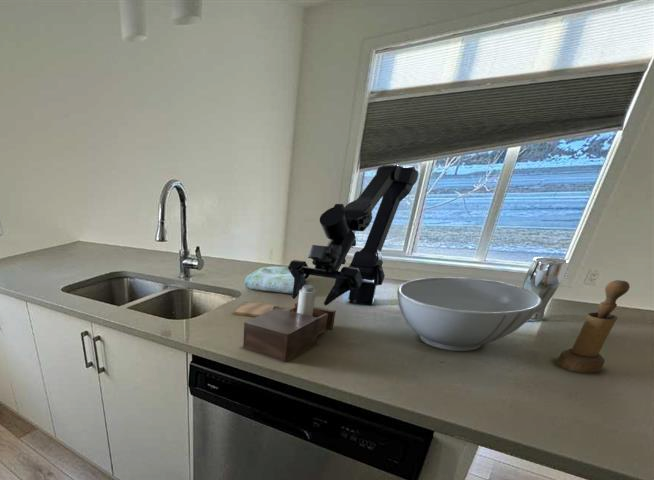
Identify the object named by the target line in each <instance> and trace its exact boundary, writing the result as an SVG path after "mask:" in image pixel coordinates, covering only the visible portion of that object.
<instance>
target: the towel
mask: <svg viewBox="0 0 654 480" xmlns="http://www.w3.org/2000/svg"><path fill="white" fill-rule="evenodd" d="M305 280H306V281H307V280H308V278H307V279H305ZM293 286H294V277H293V276H292V274H291V272H290V271H289V269H288V266H279V265H278V266H263V267H259V268H258V269H257V270H255V271H252V272H251V273H250V274H248V275H247V276H246V278H245V280H244V287H245V288H246V289H249V290H255V291H262V292H263V291H264V292H271V293H280V294H290V295H292V293H293Z"/></svg>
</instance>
